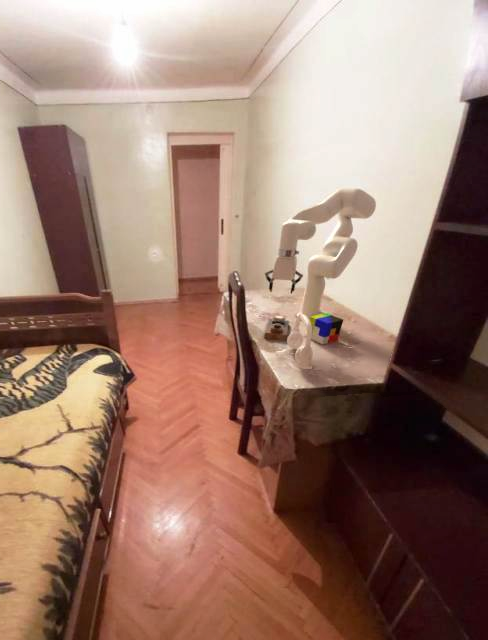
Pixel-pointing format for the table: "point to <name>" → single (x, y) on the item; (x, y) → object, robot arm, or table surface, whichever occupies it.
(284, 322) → the block black
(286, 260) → the robot arm
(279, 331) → the block walnut
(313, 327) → the puzzle toy
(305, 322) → the headset
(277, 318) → the key ivory
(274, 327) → the key ebony
